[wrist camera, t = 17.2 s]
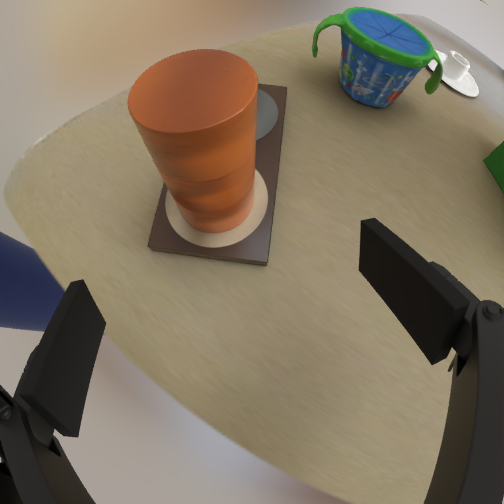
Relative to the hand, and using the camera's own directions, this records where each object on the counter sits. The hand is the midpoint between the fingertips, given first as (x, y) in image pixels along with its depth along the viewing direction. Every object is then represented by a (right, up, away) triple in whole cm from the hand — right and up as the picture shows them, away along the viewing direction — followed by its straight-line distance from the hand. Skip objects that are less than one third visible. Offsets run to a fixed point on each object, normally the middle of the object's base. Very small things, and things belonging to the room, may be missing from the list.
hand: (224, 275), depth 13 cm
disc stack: (-2, +6, +12) cm, 13 cm away
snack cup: (+16, +21, +18) cm, 32 cm away
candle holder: (+35, +31, +21) cm, 51 cm away
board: (-1, +10, +14) cm, 17 cm away
